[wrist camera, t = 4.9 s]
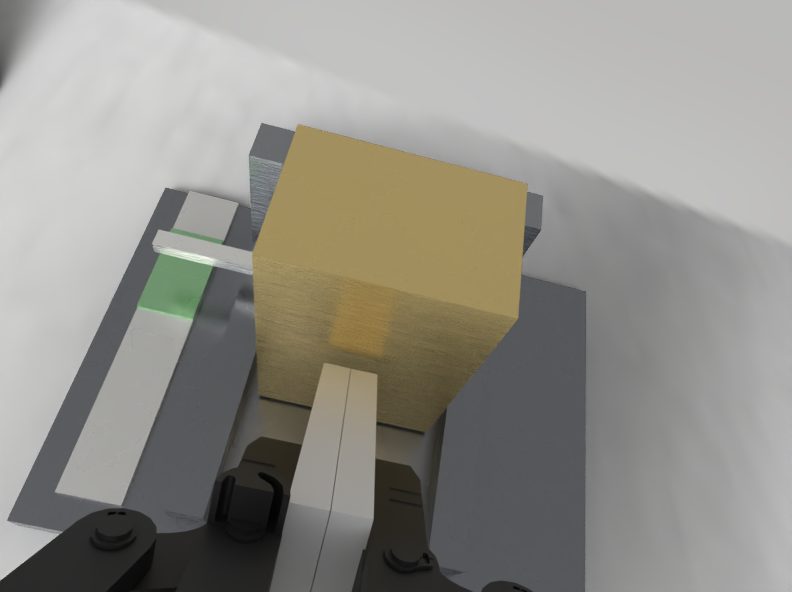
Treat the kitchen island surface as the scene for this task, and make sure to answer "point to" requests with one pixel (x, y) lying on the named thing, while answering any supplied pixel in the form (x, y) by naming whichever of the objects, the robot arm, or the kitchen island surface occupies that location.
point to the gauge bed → (262, 416)
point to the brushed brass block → (377, 273)
